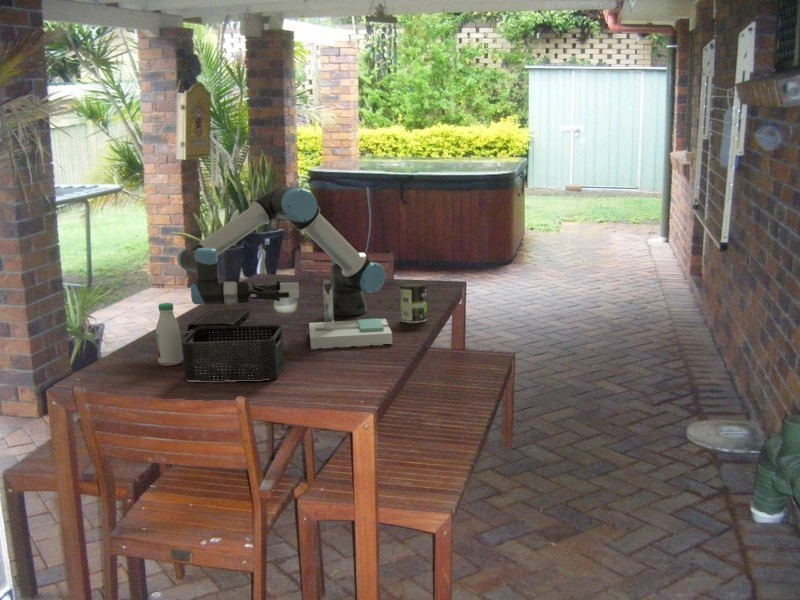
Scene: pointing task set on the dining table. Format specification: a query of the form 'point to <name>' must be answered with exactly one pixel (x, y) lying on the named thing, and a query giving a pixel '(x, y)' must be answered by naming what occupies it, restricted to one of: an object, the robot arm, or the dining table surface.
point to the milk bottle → (168, 335)
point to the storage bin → (233, 353)
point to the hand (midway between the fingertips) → (298, 290)
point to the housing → (347, 335)
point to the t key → (328, 305)
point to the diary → (221, 318)
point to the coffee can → (413, 302)
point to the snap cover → (370, 325)
